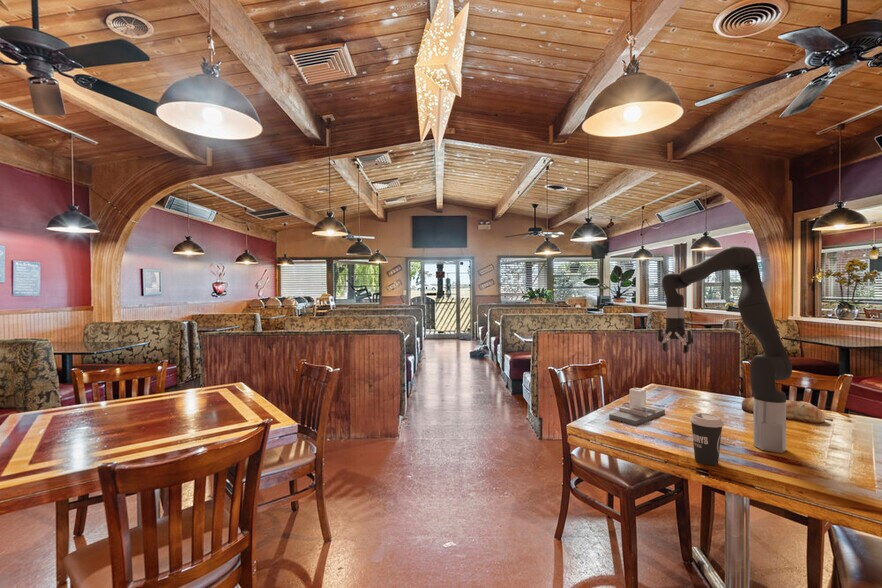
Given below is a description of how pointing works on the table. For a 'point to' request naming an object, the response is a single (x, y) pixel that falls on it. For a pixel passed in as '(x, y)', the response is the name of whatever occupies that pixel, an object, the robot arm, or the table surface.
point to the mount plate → (636, 415)
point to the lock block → (638, 399)
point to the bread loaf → (794, 410)
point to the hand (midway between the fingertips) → (675, 352)
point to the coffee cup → (706, 437)
